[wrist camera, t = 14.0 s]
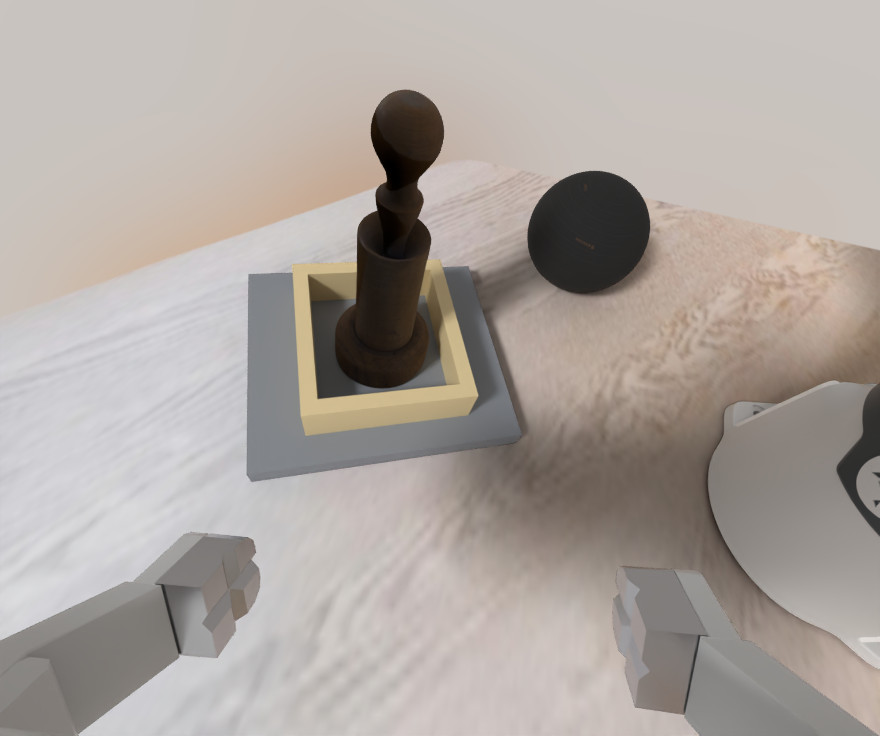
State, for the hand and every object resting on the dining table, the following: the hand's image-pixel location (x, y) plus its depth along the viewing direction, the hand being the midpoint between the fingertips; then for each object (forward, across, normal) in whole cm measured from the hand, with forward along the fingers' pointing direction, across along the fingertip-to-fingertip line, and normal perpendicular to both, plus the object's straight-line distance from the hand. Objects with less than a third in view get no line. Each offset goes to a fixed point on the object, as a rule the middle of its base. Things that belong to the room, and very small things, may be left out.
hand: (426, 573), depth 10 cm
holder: (+23, +8, +2) cm, 25 cm away
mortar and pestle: (+22, +7, +1) cm, 24 cm away
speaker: (+36, -7, -3) cm, 37 cm away
